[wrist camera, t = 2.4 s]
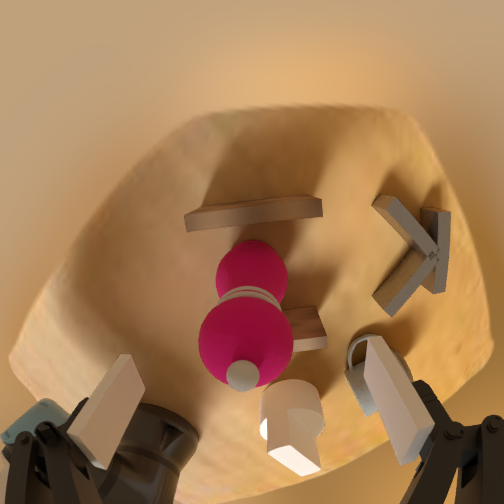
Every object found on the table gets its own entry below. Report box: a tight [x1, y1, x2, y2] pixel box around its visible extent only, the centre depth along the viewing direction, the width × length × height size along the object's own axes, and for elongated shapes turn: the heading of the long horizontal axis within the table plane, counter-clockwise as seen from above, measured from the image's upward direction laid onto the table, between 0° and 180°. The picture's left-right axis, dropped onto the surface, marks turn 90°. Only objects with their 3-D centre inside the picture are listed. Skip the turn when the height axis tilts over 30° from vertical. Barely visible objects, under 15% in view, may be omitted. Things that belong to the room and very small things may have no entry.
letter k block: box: [371, 194, 451, 317], centre depth 29 cm, size 9×14×4 cm, turn 7°
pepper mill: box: [198, 240, 294, 392], centre depth 23 cm, size 7×7×20 cm
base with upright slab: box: [260, 379, 325, 476], centre depth 32 cm, size 9×9×12 cm
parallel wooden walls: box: [184, 195, 327, 352], centre depth 29 cm, size 12×15×7 cm
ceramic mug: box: [345, 334, 413, 417], centre depth 32 cm, size 11×8×8 cm
